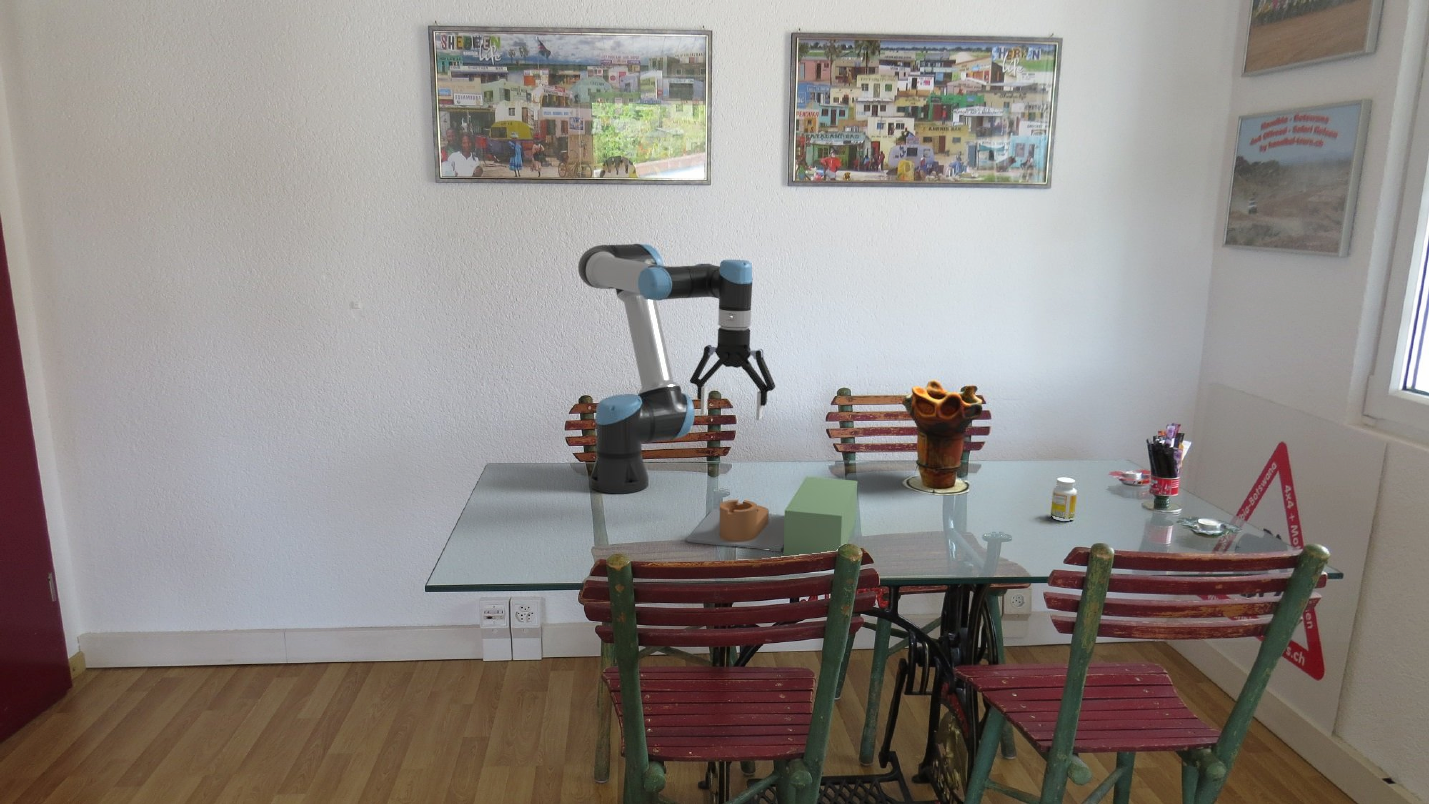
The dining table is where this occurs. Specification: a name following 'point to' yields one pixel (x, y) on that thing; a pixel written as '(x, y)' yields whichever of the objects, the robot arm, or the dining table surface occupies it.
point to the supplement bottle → (1064, 499)
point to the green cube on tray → (799, 520)
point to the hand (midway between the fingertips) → (731, 415)
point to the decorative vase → (940, 436)
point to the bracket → (742, 520)
